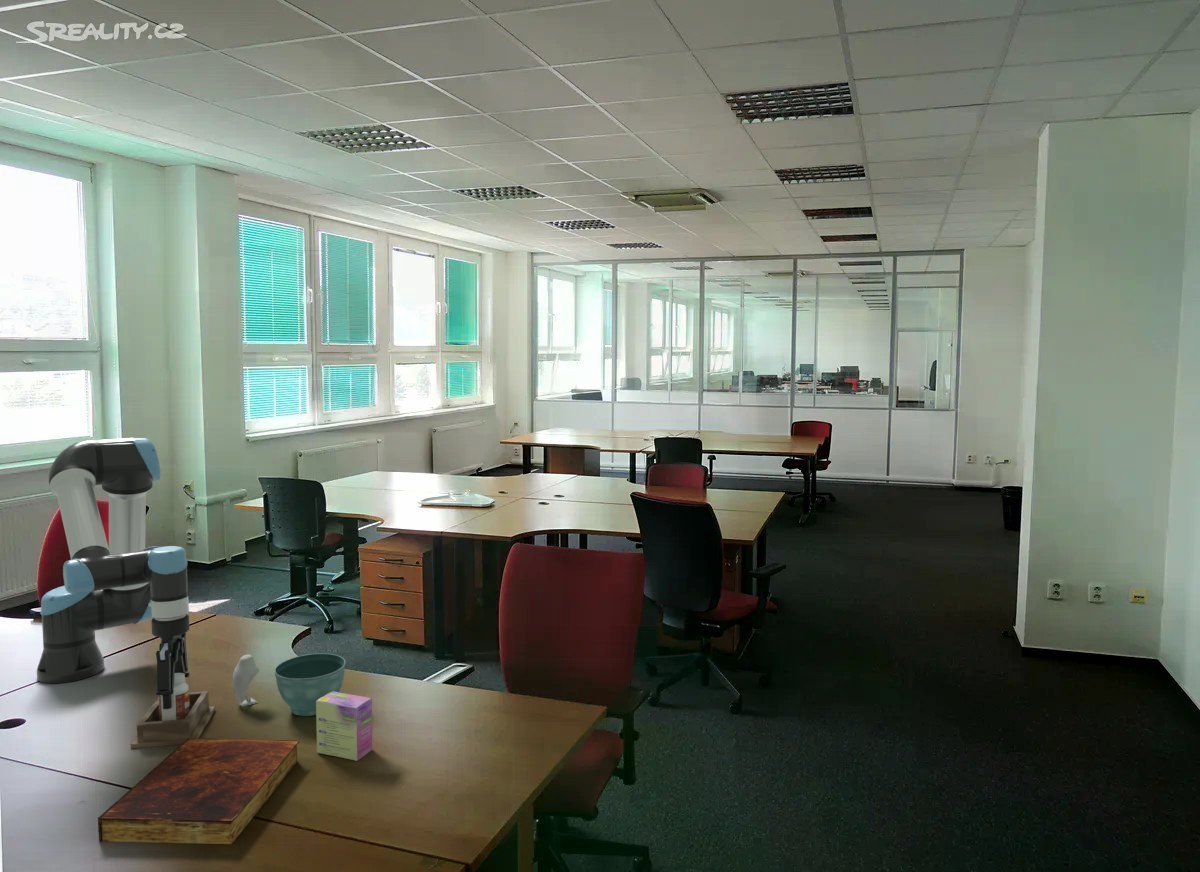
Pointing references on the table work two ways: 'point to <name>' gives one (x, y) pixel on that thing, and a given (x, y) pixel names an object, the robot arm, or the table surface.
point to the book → (200, 792)
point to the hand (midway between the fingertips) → (174, 713)
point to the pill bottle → (179, 697)
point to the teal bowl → (309, 680)
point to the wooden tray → (174, 724)
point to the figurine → (244, 679)
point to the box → (344, 725)
